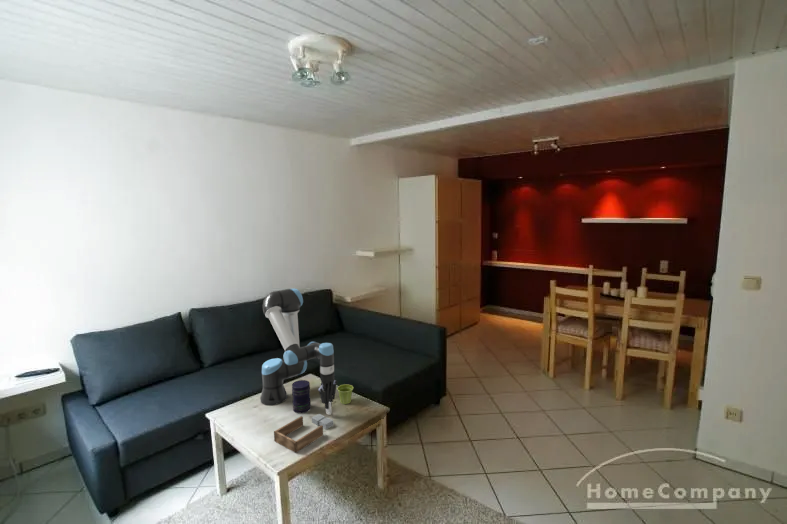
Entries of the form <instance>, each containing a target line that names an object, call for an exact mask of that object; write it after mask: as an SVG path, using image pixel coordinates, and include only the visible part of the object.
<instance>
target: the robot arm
mask: <svg viewBox="0 0 787 524" xmlns="http://www.w3.org/2000/svg"><path fill="white" fill-rule="evenodd" d="M303 303H304V299H303V294H302V293H301V291H300V290H299V289H297V288H294V287H293V288H287V289H280V290H273V291H271V292H269V293H268V294H266V296H265V297H264V299H263V302H262V311H263V315H264V316H265V318H267V319H268V320H269V321H270V324H271V325H272V328H273V330H274V332H275V333H276V336H277V338H278V340H279V341H280V344H281V346H282V348H283V349H284V353H283V357H282V358H278V357H276V358H271V359H268V360H266V361H265V362H263V364H262V365H261V378H262V390H261V394H260V404H262V405H265V406H266V405H267V406H273V405H278V404H281V403H283V402H285V401H286V400H287V399H288V398H287V397H288V393H287V390H286V387H285V386H284V380H287V379H290V378H293V377H297V376H300V375H301V374H303V373H305V371H307V367H308V362H307V361H309V360H314V359H318V360H319V377H320V379H319V380H320V382H321V383H320V386H319V387H317V391H318V393H319V397H320V401H321V403H322V404H324V409H325V413H326V414H327V415H332V407H333V402H334V400H335V398H336V391H337V384H338V381H337V380H336V379H335V356H334V352H335V351H334V345H333V343H331V342H322V343H319V342H316V341H310V342H309V343H307V345H304V346H300V335H299V334H300V331H299V318H298V313H299V312H300V308H301V307H302V306H303Z"/></svg>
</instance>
